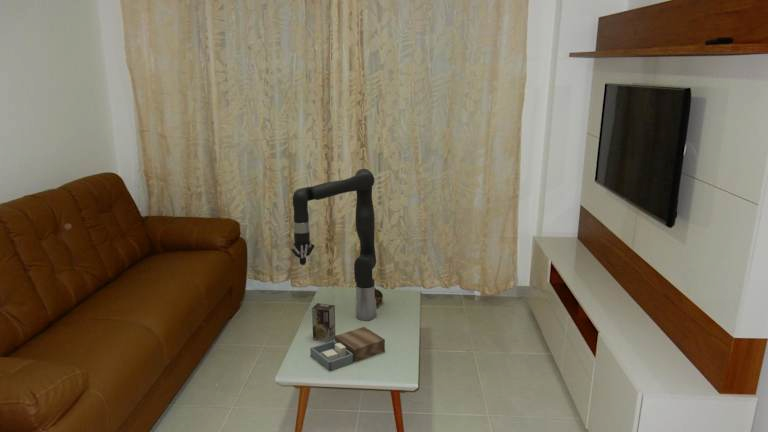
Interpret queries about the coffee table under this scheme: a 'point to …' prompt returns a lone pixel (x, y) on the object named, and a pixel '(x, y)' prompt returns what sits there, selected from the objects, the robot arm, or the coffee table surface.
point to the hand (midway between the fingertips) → (302, 264)
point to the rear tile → (340, 350)
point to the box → (329, 365)
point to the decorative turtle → (378, 296)
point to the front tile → (330, 355)
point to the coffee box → (323, 322)
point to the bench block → (362, 343)
